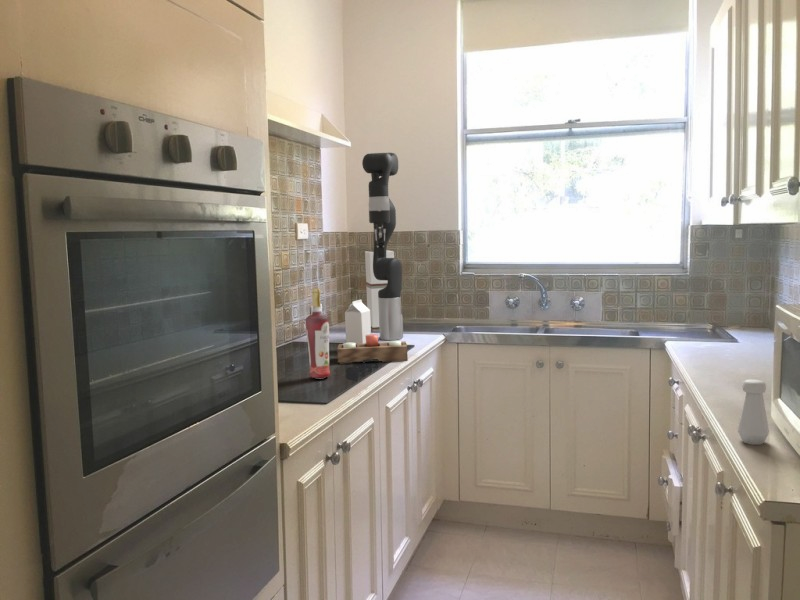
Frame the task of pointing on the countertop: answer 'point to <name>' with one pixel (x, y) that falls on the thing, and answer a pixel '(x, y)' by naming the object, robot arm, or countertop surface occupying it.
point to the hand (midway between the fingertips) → (381, 257)
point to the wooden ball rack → (373, 352)
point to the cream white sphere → (394, 343)
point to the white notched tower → (374, 289)
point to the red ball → (372, 340)
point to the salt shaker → (753, 414)
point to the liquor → (318, 339)
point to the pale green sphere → (349, 345)
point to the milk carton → (357, 322)
